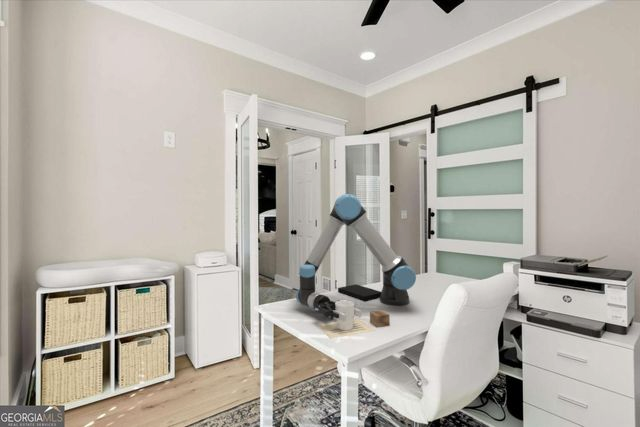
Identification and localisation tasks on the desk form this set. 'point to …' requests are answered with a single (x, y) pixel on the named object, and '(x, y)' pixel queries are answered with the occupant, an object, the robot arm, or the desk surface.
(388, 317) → the block
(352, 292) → the external hard drive
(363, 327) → the letter
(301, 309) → the desk surface
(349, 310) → the white cup
